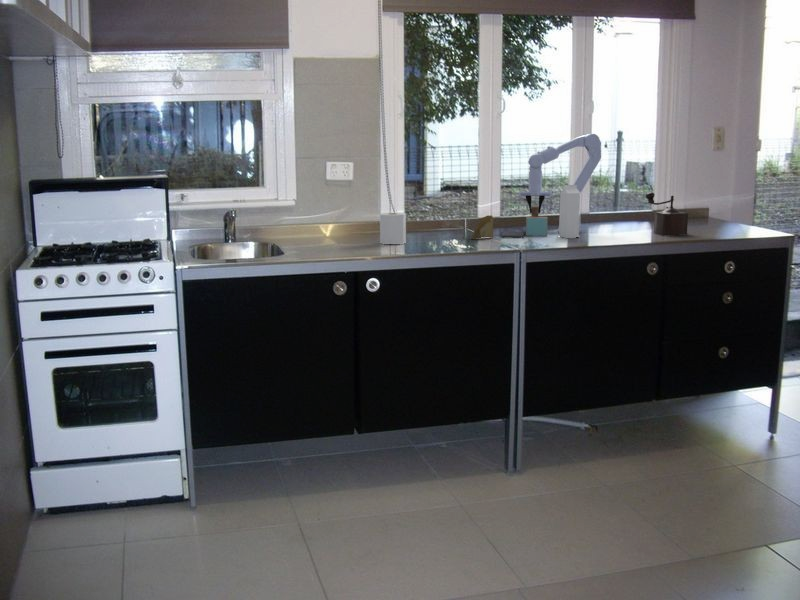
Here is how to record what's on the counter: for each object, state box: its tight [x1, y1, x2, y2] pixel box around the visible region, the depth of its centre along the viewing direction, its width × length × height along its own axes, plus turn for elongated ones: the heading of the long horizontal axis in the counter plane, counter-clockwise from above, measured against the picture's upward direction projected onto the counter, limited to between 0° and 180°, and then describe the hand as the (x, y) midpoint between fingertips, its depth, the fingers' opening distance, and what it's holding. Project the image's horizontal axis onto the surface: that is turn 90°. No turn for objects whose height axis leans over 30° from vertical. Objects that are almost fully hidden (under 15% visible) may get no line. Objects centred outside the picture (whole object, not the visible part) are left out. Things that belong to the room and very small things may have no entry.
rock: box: [471, 215, 494, 240], centre depth 365 cm, size 11×9×10 cm
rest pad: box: [501, 231, 525, 239], centre depth 372 cm, size 9×12×1 cm
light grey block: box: [379, 212, 407, 245], centre depth 351 cm, size 10×10×12 cm
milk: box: [558, 184, 581, 239], centre depth 364 cm, size 6×6×22 cm
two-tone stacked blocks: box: [530, 205, 539, 217], centre depth 381 cm, size 5×12×5 cm, turn 171°
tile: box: [525, 216, 548, 237], centre depth 372 cm, size 9×2×8 cm, turn 81°
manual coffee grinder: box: [644, 191, 689, 236], centre depth 372 cm, size 16×11×18 cm
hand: (534, 212), depth 386 cm, fingers closed on two-tone stacked blocks, 3 cm apart
